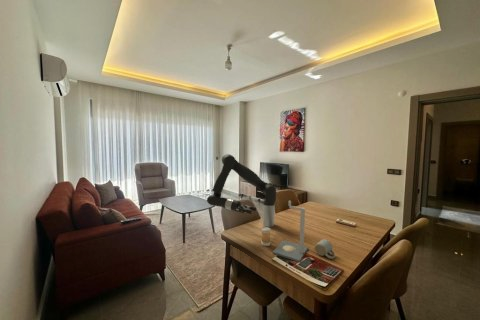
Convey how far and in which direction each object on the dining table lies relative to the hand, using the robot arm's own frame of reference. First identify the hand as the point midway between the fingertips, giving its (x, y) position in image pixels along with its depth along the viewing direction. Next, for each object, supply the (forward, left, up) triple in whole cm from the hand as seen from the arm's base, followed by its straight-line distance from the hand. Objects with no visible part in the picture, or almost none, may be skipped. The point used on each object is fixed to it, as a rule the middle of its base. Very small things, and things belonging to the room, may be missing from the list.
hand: (253, 210), depth 137 cm
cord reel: (+1, +10, -20) cm, 22 cm away
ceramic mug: (-7, +45, -20) cm, 50 cm away
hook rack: (+1, +27, -20) cm, 33 cm away
